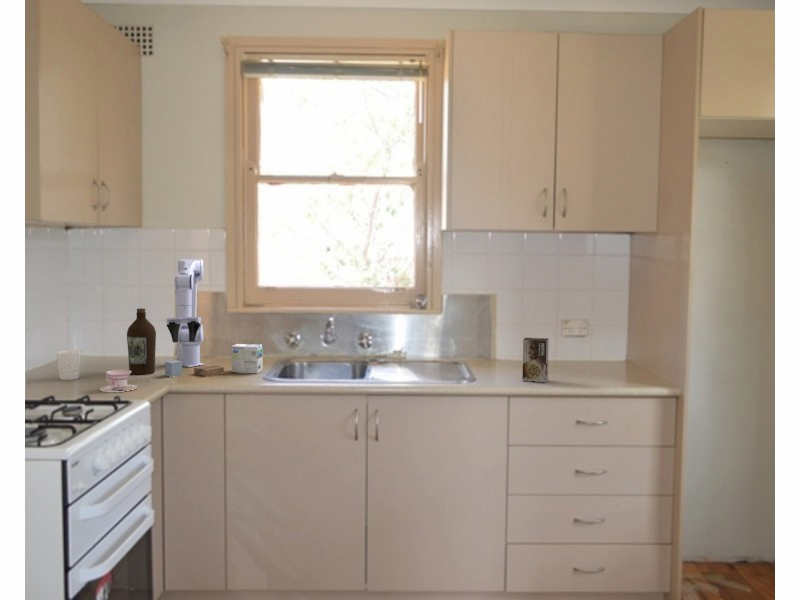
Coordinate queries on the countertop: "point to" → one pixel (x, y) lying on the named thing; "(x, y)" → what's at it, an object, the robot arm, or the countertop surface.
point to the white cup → (69, 364)
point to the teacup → (117, 380)
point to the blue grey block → (173, 368)
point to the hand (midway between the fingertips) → (183, 342)
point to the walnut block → (208, 370)
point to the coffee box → (535, 359)
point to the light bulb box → (247, 358)
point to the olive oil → (141, 345)
